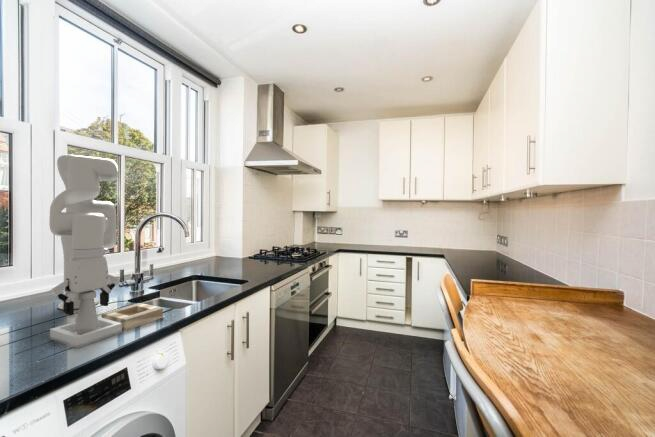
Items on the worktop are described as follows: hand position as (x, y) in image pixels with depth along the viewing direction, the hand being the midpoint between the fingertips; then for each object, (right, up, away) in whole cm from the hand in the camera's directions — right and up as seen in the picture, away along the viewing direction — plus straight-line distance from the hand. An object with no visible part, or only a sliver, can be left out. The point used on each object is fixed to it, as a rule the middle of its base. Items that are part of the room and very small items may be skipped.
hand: (87, 309), depth 88 cm
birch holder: (+5, -8, +13) cm, 16 cm away
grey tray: (0, -8, 0) cm, 8 cm away
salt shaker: (0, -8, 0) cm, 8 cm away
